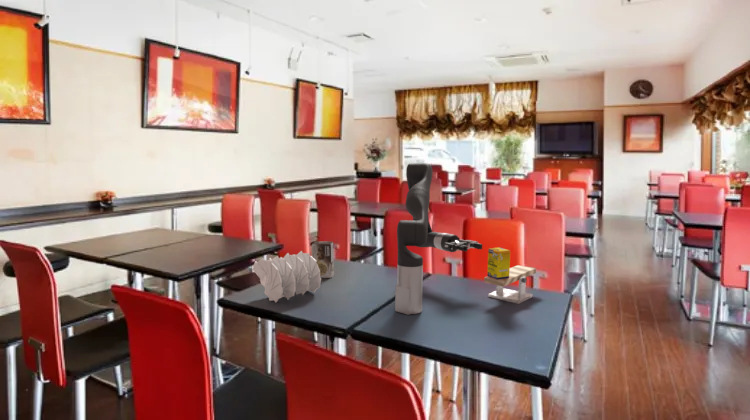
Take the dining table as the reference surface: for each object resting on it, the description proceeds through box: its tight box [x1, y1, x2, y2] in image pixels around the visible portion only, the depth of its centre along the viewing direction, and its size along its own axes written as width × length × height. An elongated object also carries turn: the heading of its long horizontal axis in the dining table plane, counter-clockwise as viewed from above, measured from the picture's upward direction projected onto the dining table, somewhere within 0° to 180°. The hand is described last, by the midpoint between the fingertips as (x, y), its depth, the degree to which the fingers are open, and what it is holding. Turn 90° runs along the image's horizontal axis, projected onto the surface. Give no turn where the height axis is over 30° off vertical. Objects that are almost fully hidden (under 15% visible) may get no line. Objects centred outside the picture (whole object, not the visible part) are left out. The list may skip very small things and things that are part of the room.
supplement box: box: [486, 247, 511, 280], centre depth 178 cm, size 6×6×11 cm
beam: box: [483, 265, 537, 288], centre depth 187 cm, size 28×8×2 cm, turn 137°
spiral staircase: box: [252, 250, 322, 303], centre depth 186 cm, size 18×18×25 cm
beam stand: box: [488, 276, 533, 305], centre depth 187 cm, size 12×13×9 cm
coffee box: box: [311, 240, 335, 279], centre depth 218 cm, size 9×6×16 cm
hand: (474, 247), depth 188 cm, fingers open, 8 cm apart
